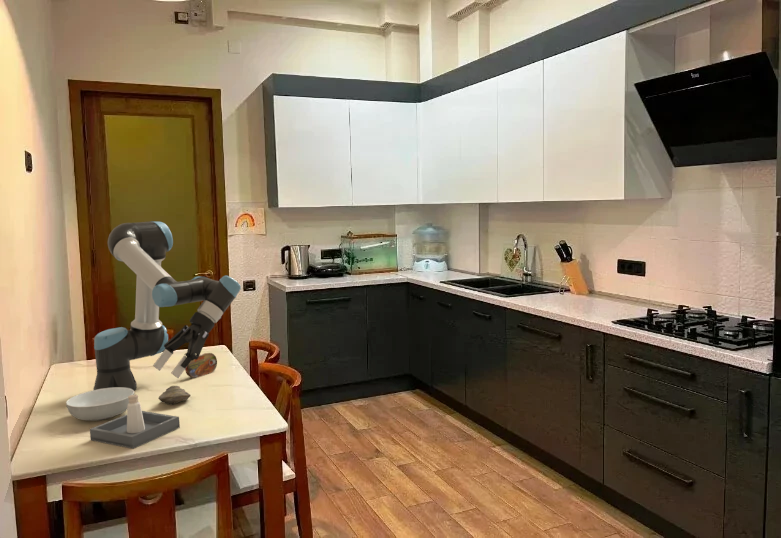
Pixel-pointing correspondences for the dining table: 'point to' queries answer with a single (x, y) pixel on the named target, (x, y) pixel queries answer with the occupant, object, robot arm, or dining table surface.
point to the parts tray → (118, 435)
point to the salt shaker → (134, 415)
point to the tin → (202, 365)
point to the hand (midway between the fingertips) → (165, 372)
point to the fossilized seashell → (173, 395)
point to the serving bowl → (99, 403)
